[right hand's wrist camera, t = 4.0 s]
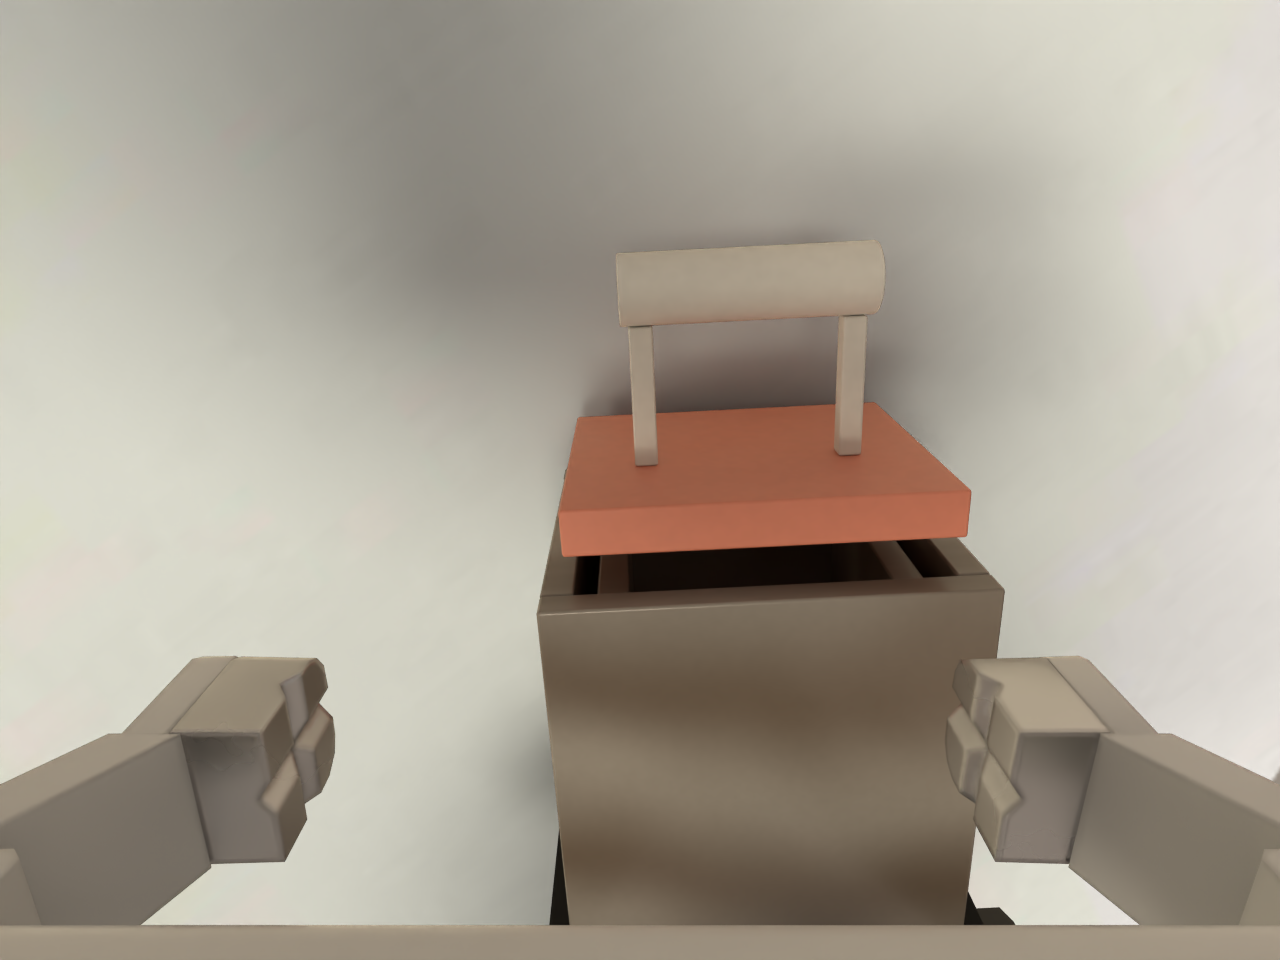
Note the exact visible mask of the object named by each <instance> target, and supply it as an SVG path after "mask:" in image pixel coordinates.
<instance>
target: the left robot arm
mask: <svg viewBox="0 0 1280 960" xmlns="http://www.w3.org/2000/svg"><path fill="white" fill-rule="evenodd" d="M550 925H570V924H569V915H568V905H567V896H566V886H565V877H564V867H563V858H562V849H561V839H560V830H559V836H558V846H557V856H556V866H555V876H554V885H553V895H552V905H551V915H550ZM964 925H1015V923H1014V922H1013V921H1012V920H1011V919H1010V918H1009V917H1008V916H1007V915H1006V914H1005V913H1004V912H1003V911H1002V910H1001V909H1000V908H999V907H998V908H978V909H976V907H975V905H974V903H973V901H972V899H971V897H970V894H969V892H968V894H967V902H966V910H965V919H964Z"/></svg>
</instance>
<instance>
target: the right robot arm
mask: <svg viewBox="0 0 1280 960" xmlns="http://www.w3.org/2000/svg"><path fill="white" fill-rule="evenodd" d="M327 688H328V685H327V680H326V675H325V670H324V665H323V664H322V663H321V662H320V661H319V660H318V659H317V658H287V657H236V656H206V657H199V658H195V659H192V660H191V661H190V662H189V663H188V664H187V665H186V666H185V667H184V668H183V669H182V670H181V671H180V672H179V674H178V675H177V676H176V677H175V678H174V679H173V680H172V681H171V682H170V683H169V684H168V685H167V686H166V687H165V688H164V689H163V690H162V692H161V693H160V694H159V695H158V696H157V697H156V698H155V699H154V700H153V701H152V702H151V703H150V704H149V705H148V706H147V707H146V708H145V710H144V711H143V712H142V713H141V714H140V715H139V716H138V717H137V718H136V719H135V720H134V721H133V722H132V723H131V724H130V725H129V726H128V727H127V729H126V730H125V731H124V732H123V733H122V734H107V735H105V736H103V737H100V738H98V739H96V740H94V741H92V742H90V743H88V744H86V745H83V746H81V747H79V748H77V749H75V750H73V751H71V752H68V753H66V754H64V755H62V756H60V757H58V758H56V759H54V760H51V761H49V762H47V763H45V764H43V765H41V766H39V767H36V768H34V769H32V770H30V771H28V772H26V773H24V774H22V775H19V776H17V777H15V778H13V779H11V780H9V781H7V782H4V783H2V784H0V960H1280V784H1277V783H1275V782H1273V781H1271V780H1269V779H1267V778H1265V777H1262V776H1260V775H1258V774H1256V773H1254V772H1252V771H1250V770H1248V769H1245V768H1243V767H1241V766H1239V765H1237V764H1235V763H1233V762H1231V761H1228V760H1226V759H1224V758H1222V757H1220V756H1218V755H1216V754H1214V753H1211V752H1209V751H1207V750H1205V749H1203V748H1201V747H1199V746H1197V745H1194V744H1192V743H1190V742H1188V741H1186V740H1184V739H1182V738H1180V737H1177V736H1175V735H1173V734H1158V733H1157V732H1156V731H1155V730H1154V728H1153V727H1152V726H1151V725H1150V724H1149V723H1148V722H1147V721H1146V720H1145V719H1144V718H1143V717H1142V716H1141V715H1140V714H1139V713H1138V712H1137V710H1136V709H1135V708H1134V707H1133V706H1132V705H1131V704H1130V703H1129V702H1128V701H1127V700H1126V699H1125V698H1124V697H1123V696H1122V695H1121V694H1120V692H1119V691H1118V690H1117V689H1116V688H1115V687H1114V686H1113V685H1112V684H1111V683H1110V682H1109V681H1108V680H1107V679H1106V678H1105V677H1104V676H1103V674H1102V673H1101V672H1100V671H1099V670H1098V669H1097V668H1096V667H1095V666H1094V665H1093V664H1092V663H1091V662H1090V661H1089V660H1088V659H1085V658H1083V657H1080V656H1058V657H1039V658H999V659H960V661H959V663H958V665H957V667H956V669H955V673H954V679H953V684H952V688H953V690H954V692H955V693H956V695H957V697H958V698H959V700H960V702H961V704H960V705H959V706H958V707H957V708H956V709H955V710H954V711H953V712H952V713H951V714H950V715H949V716H948V717H947V724H946V732H945V749H946V760H947V764H948V768H949V771H950V774H951V778H952V780H953V782H954V784H955V786H956V788H957V790H958V792H959V793H960V794H962V795H963V796H965V797H966V798H968V799H969V800H971V801H972V802H974V803H975V810H974V816H973V821H974V822H975V824H976V826H977V828H978V830H979V832H980V834H981V836H982V838H983V839H984V841H985V843H986V845H987V847H988V849H989V851H990V853H991V854H992V856H993V858H994V860H995V862H1019V863H1055V864H1069V868H1070V869H1071V870H1073V871H1074V872H1075V873H1076V874H1077V875H1079V876H1080V877H1081V878H1082V879H1084V880H1085V881H1086V882H1087V883H1089V884H1090V885H1091V886H1092V887H1094V888H1095V889H1096V890H1097V891H1098V892H1100V893H1101V894H1102V895H1103V896H1105V897H1106V898H1107V899H1108V900H1110V901H1111V902H1112V903H1113V904H1115V905H1116V906H1117V907H1118V908H1119V909H1121V910H1122V911H1123V912H1124V913H1126V914H1127V915H1128V916H1129V917H1131V918H1132V919H1133V920H1134V921H1136V922H1137V923H1138V924H1139V925H141V924H142V923H144V922H145V921H146V920H147V919H148V918H150V917H151V916H152V915H153V914H155V913H156V912H157V911H158V910H160V909H161V908H162V907H163V906H165V905H166V904H167V903H168V902H169V901H171V900H172V899H173V898H174V897H176V896H177V895H178V894H179V893H181V892H182V891H183V890H184V889H186V888H187V887H188V886H189V885H191V884H192V883H193V882H194V881H195V880H197V879H198V878H199V877H200V876H202V875H203V874H204V873H205V872H207V871H208V870H209V869H210V868H211V864H224V863H259V862H285V860H286V858H287V857H288V855H289V853H290V851H291V849H292V847H293V845H294V843H295V841H296V840H297V838H298V836H299V834H300V832H301V830H302V828H303V826H304V824H305V822H306V821H307V815H306V809H305V803H306V802H308V801H309V800H311V799H312V798H314V797H315V796H317V795H318V794H320V793H321V792H322V790H323V788H324V786H325V784H326V782H327V779H328V777H329V775H330V771H331V767H332V762H333V758H334V753H335V730H334V723H333V717H332V716H331V715H330V714H329V713H328V712H327V711H326V710H325V709H324V708H323V707H322V706H321V705H320V704H319V702H320V700H321V698H322V697H323V695H324V693H325V692H326V690H327Z"/></svg>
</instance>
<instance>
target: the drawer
mask: <svg viewBox="0 0 1280 960" xmlns="http://www.w3.org/2000/svg"><path fill="white" fill-rule="evenodd" d="M616 277H617V296H618V312H619V324H620V326H621V327H628V338H629V357H630V376H631V394H632V413H633V415H614V416H594V417H579V418H578V419H577V424H576V429H575V434H574V439H573V443H572V448H571V453H570V458H569V463H568V468H567V473H566V477H565V482H564V487H563V492H562V497H561V502H560V507H559V511H558V517H559V528H560V539H561V550H562V555H563V557H575V556H595V555H600V562H599V576H598V590H597V594H610V593H630V592H650V591H670V590H689V589H709V588H729V587H749V586H769V585H789V584H809V583H829V582H849V581H869V580H889V579H909V578H923V577H922V575H921V574H920V572H919V571H918V570H917V568H916V567H915V566H914V564H913V563H912V562H911V560H910V559H909V558H908V556H907V555H906V553H905V552H904V551H903V549H902V548H901V547H900V545H899V544H898V543H897V541H896V540H913V539H933V538H953V537H966V536H967V531H968V521H969V511H970V501H971V490H970V489H969V488H968V487H967V486H966V485H965V484H963V483H962V482H961V481H960V480H959V479H958V478H957V477H956V476H955V475H954V474H953V473H951V472H950V471H949V470H948V469H947V468H946V467H945V466H944V465H943V464H942V463H941V462H939V461H938V460H937V459H936V458H935V457H934V456H933V455H932V454H931V453H930V452H929V451H927V450H926V449H925V448H924V447H923V446H922V445H921V444H920V443H919V442H918V441H916V440H915V439H914V438H913V437H912V436H911V435H910V434H909V433H908V432H907V431H906V430H904V429H903V428H902V427H901V426H900V425H899V424H898V423H897V422H896V421H895V420H894V419H892V418H891V417H890V416H889V415H888V414H887V413H886V412H885V411H884V410H883V409H882V408H880V407H879V406H878V405H877V404H876V403H874V402H869V403H863V401H864V381H865V361H866V341H867V321H868V318H867V316H865V315H864V314H875V313H876V312H877V311H878V310H879V308H880V306H881V303H882V300H883V296H884V289H885V260H884V254H883V250H882V247H881V245H880V243H879V242H878V241H876V240H862V241H843V242H824V243H804V244H785V245H765V246H746V247H727V248H707V249H688V250H669V251H649V252H630V253H617V254H616ZM824 316H839V324H838V351H837V378H836V404H830V405H810V406H791V407H771V408H751V409H732V410H712V411H692V412H673V413H656V400H655V377H654V354H653V331H652V325H668V324H688V323H707V322H727V321H746V320H766V319H785V318H805V317H824Z"/></svg>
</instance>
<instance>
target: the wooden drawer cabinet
mask: <svg viewBox="0 0 1280 960" xmlns="http://www.w3.org/2000/svg"><path fill="white" fill-rule="evenodd" d="M566 473H567V470H566V471H565V475H564V482H565V477H566ZM563 487H564V484H563ZM562 492H563V488H562ZM561 497H562V493H561ZM560 502H561V498H560ZM559 507H560V503H559ZM558 511H559V508H558ZM896 541H897V543H898V544H899V545H900V547H901V548H902V549H903V551H904V552H905V553H906V555H907V556H908V558H909V559H910V560H911V562H912V563H913V564H914V566H915V567H916V568H917V570H918V571H919V572H920V574H921V575H922V577H923V578H909V579H889V580H869V581H849V582H829V583H809V584H789V585H769V586H749V587H729V588H709V589H689V590H670V591H650V592H630V593H610V594H597V590H598V576H599V562H600V555H595V556H575V557H563V555H562V550H561V539H560V528H559V517H558V512H557V517H556V522H555V527H554V532H553V536H552V541H551V546H550V551H549V556H548V560H547V565H546V570H545V575H544V580H543V584H542V589H541V594H540V600H539V605H538V610H537V623H538V632H539V642H540V651H541V660H542V670H543V679H544V689H545V698H546V708H547V717H548V726H549V736H550V745H551V755H552V764H553V773H554V783H555V792H556V802H557V811H558V820H559V830H560V839H561V849H562V858H563V867H564V877H565V886H566V896H567V905H568V915H569V924H570V925H964V919H965V910H966V902H967V894H968V886H969V878H970V870H971V862H972V854H973V845H974V837H975V829H976V824H975V822H974V821H973V816H974V810H975V803H974V802H972V801H971V800H969V799H968V798H966V797H965V796H963V795H962V794H960V793H959V792H958V790H957V788H956V786H955V784H954V782H953V780H952V778H951V774H950V771H949V768H948V764H947V760H946V749H945V732H946V724H947V717H948V716H949V715H950V714H951V713H952V712H953V711H954V710H955V709H956V708H957V707H958V706H959V705H960V704H961V702H960V700H959V698H958V697H957V695H956V693H955V692H954V690H953V688H952V684H953V679H954V673H955V669H956V667H957V665H958V663H959V661H960V659H996V658H997V650H998V642H999V634H1000V626H1001V618H1002V609H1003V601H1004V593H1005V591H1004V588H1003V587H1002V586H1001V585H1000V584H999V583H998V582H997V581H996V579H995V578H994V577H993V576H992V575H990V574H989V572H988V571H987V570H986V569H985V568H984V566H983V565H982V564H981V563H980V562H979V561H978V560H977V559H976V558H975V557H974V555H973V554H972V553H971V552H970V551H969V550H968V549H967V548H966V547H965V546H964V544H963V543H962V542H961V541H960V540H959V539H958V538H957V537H953V538H933V539H913V540H896Z"/></svg>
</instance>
